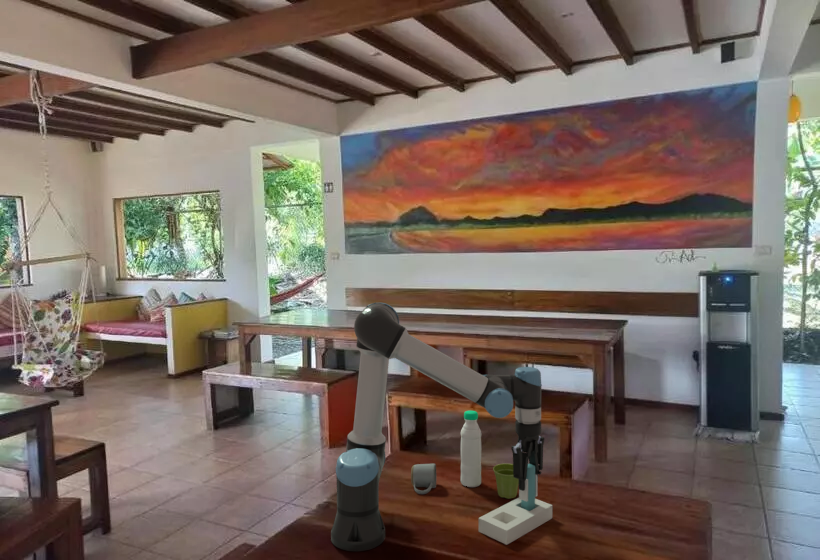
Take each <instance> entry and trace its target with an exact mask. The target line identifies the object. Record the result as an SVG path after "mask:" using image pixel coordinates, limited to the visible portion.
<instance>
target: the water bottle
mask: <svg viewBox="0 0 820 560" xmlns="http://www.w3.org/2000/svg"><path fill="white" fill-rule="evenodd" d="M463 419H464V423H463V426H462V428H461V430H460V436H461V438H460V484H461V485H463V486H464V487H466V486H467V487H468V488H476V487H479V486H480V485H481V484H482V464H481V463H482V430H481V429H480V426H479V424H478V419H479V413H478V412H477V411H476V410H472V409H471V410H465V411H464V412H463Z"/></svg>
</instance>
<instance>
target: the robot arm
mask: <svg viewBox="0 0 820 560" xmlns="http://www.w3.org/2000/svg"><path fill="white" fill-rule="evenodd" d="M353 329H354V334H355V337H356V349H357V350H358V351H359V352H360V359H359V369H358V379H357V389H356V399H355V406H354V407H355V409H354V421H353V428H352V430H351V431H350V432H349V433H348V434H347V438H346V439H347V440H346V447H345V448H346V450H345V451H344V452H342V453H341V454H340V455H339V456H338V458H337V461H336V466H335V475H336V478H335V480H336V514H335V519H334V521H333V525H332V527H331V530H330V538H331V539H330V541H331V543H332V544H333V546H334V547H336V548H338V549H340V550H342V551H347V552H364V551H368V550H372V549H375V548H377V547H379V546H380V545H381V544H382V543H383V542H384V541H385V540H386V527H385V524H384V521H383V518H382V514H381V511H380V508H379V507H380V505H379V502H380V501H379V500H380V499H379V498H380V497H379V493H380V492H379V491H380V490H379V483H380V478H381V475H382V471H383V468H384V465H385V463H386V441H387V437H386V436H385V435H384V434H383V432H382V430H383V422H384V421H383V420H384V413H385V412H384V411H385V402H386V392H387V383H388V382H387V381H388V373H389V363H390V360H392V359H396V360H397V361H400V362H401V363H403V364H405V365H406V366H409V367H410V368H412V369H413V370H416V371H418V372H419V373H422V374H423V375H424V376H427V377H428V378H430V379H432V380H434V381H435V382H437V383H439V384H441V385H442V386H445V387H447V388H448V389H450V390H452V391H454V392H456V393H457V394H459V395H461V396H463V397H464V398H466V399H468V400H470V401H471V402H473V403H475V404H477V405H479V406H480V407H482V408H484V409H485V410H486V412H487V413H488V414H490V416H491V417H494V418H497V419H502V418H505V417H507V416H509V414H510V413H511V412H513V408H514V406H515V408H514V411H515V412H514V413H515V414H514V419H515V422H514V424H515V426H514V427H515V428H514V429H515V430H514V431H515V433H516V434H517V436H518V437H517V443H516V444H515V445H511V452H512V464H513V476H514V478H517V479H518V480H519V484H518V498H519V499H521V500H523V501H526V502H527V501H528V479H526V476H527V468H528V464H533V465H534V466H535V498H536V497H538V484H539V483H538V482H539V475H541V474H542V470H543V468H544V467H543V466H544V465H543V464H544V443H545V437H544V436H541V434H542V386H543V385H542V373H541V371H540V369H538V368H536V367H531V366H523V367H522V366H521V367H517V368H516V369H515V371H514V374H503V375H502V374H495V375H494V374H481V373H479V372H477V371H475V370H474V369H472V368H471V367H469V366H467V365H465V364H464V363H461V362H460V361H458V360H457V359H454V358H453V357H451V356H449V355H447V354H445V353H444V352H441V351H440V350H438V349H436V348H434V347H433V346H431V345H429V344H428V343H425V342H424V341H422V340H420V339H418V338H416V337H414V336H413V335H411V334H409V332H408V328H406V327H405V326H403V325H402V324H400V319H399V315H398V312H397V311H396V310H395V308H393V307H392V306H391V305H389V304H388V303H385V302H373V303H370V304H368V305H367V306H365V307H364V308H363V310H361V311H359V314H357V316H356V318H355V321H354V326H353ZM514 402H515V405H514Z"/></svg>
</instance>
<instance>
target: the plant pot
mask: <svg viewBox="0 0 820 560" xmlns="http://www.w3.org/2000/svg"><path fill="white" fill-rule="evenodd" d="M492 470H493V472H494V476H495V481H496V487H497V488H496V489H497V495H498V496H499V497H500V498H505V499H516V497H517V495H518V492H519V480H518V479H517V478H514V476H513V463H498V464H496V465H494V466H493V467H492Z"/></svg>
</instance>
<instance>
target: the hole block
mask: <svg viewBox="0 0 820 560" xmlns="http://www.w3.org/2000/svg"><path fill="white" fill-rule="evenodd" d="M552 519H553V504H551V503H547V502H546V501H543V500H540V499H537V498H535V509H533V510H531V511H528V510H525V509H523V508H521V499H519V497H517V498H514V499H513V500H511V501H509V502H507V503H505V504H503V505H501V506H500V507H497V508H495V509H492V510H491V511H489V512H488V513H485V514H484V515H482V516H480V517H478V533H481V534H483V535H485V536H487V537H489V538H491V539H493V540H496V541H498V542H500V543H502V544H504V545H509V544H511V543H512V542H514V541H516V540H517V539H519V538H521V537H523V536H525V535H526V534H528V533H529V532H531V531H533V530H535V529H536V528H538V527H539V526H540V527H541V525H543V524H545V523H546V522H548V521H550V520H552Z"/></svg>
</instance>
